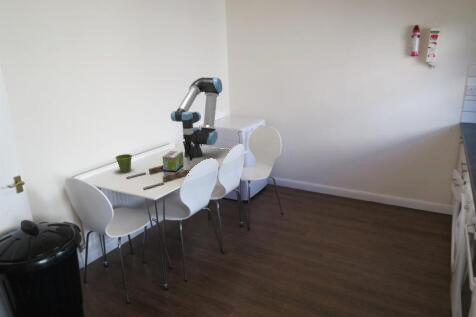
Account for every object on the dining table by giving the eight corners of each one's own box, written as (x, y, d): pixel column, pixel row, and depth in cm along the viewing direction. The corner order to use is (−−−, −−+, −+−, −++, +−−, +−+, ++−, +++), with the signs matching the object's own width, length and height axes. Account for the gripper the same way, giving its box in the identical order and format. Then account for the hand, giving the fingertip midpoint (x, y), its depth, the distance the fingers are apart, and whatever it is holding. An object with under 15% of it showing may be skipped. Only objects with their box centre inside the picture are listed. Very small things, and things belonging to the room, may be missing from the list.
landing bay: (144, 173, 253) (144, 172, 253) (164, 184, 233) (163, 183, 233) (126, 178, 245) (126, 177, 244) (144, 190, 224) (144, 188, 224)
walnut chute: (174, 167, 265) (174, 162, 264) (190, 174, 249) (190, 169, 248) (149, 173, 252) (148, 168, 251) (164, 182, 236) (164, 176, 235)
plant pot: (124, 167, 267) (122, 153, 263) (137, 169, 262) (135, 155, 259) (113, 172, 256) (111, 158, 253) (126, 174, 252) (124, 159, 248)
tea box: (177, 177, 245) (175, 157, 240) (163, 176, 247) (161, 156, 242) (184, 170, 259) (183, 150, 254) (171, 169, 261) (169, 150, 256)
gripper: (178, 132, 256) (181, 163, 263) (188, 136, 246) (190, 167, 253) (187, 131, 260) (189, 161, 268) (197, 134, 251) (199, 165, 258)
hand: (190, 164), depth 260 cm, fingers closed
